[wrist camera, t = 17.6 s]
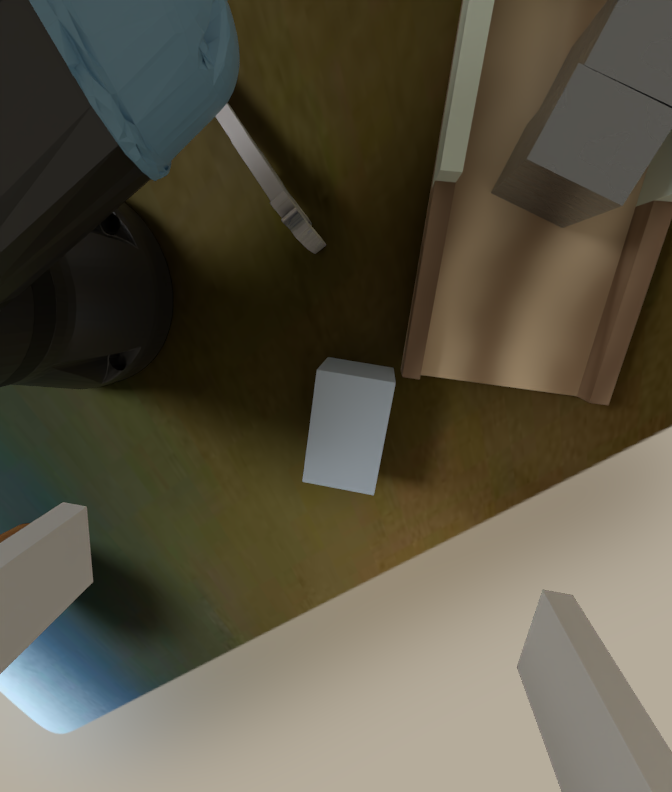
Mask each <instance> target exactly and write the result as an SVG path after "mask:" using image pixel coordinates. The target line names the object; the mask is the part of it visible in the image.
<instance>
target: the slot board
mask: <svg viewBox="0 0 672 792" xmlns="http://www.w3.org/2000/svg"><path fill="white" fill-rule="evenodd" d="M607 1H608V0H495V1H494V6H493V11H492V17H491V22H490V27H489V33H488V38H487V43H486V49H485V54H484V60H483V65H482V70H481V76H480V81H479V86H478V92H477V97H476V103H475V108H474V113H473V119H472V124H471V129H470V135H469V140H468V146H467V151H466V156H465V162H464V167H463V172H462V174H461V175H460V177H459V178H458V180H457V181H456V182H446V181H435V182H434V184H433V178H434V172H435V166H436V160H437V154H438V148H439V142H440V136H441V130H442V124H443V118H444V112H445V106H446V100H447V94H448V88H449V82H450V76H451V71H452V65H453V59H454V53H455V47H456V41H457V35H458V29H459V23H460V17H461V11H462V5H463V0H462V4H461V10H460V16H459V22H458V28H457V34H456V40H455V46H454V52H453V58H452V64H451V70H450V76H449V82H448V88H447V94H446V100H445V106H444V112H443V118H442V124H441V130H440V136H439V142H438V148H437V154H436V160H435V166H434V172H433V178H432V184H433V187H432V184H431V190H430V196H429V202H428V208H427V214H426V220H425V226H424V232H423V238H422V244H421V250H420V256H419V262H418V268H417V274H416V280H415V286H414V292H413V298H412V304H411V310H410V316H409V322H408V328H407V334H406V340H405V346H404V352H403V358H402V364H401V374H402V377H406V378H413V379H420V376H421V375H425V376H432V377H439V378H447V379H454V380H461V381H469V382H476V383H483V384H491V385H498V386H505V387H513V388H520V389H527V390H535V391H542V392H549V393H557V394H564V395H571V396H577V397H579V398H581V399H583V400H585V401H587V402H589V403H594V404H602V405H609V402H610V399H611V397H612V394H613V391H614V388H615V385H616V382H617V379H618V376H619V373H620V370H621V367H622V364H623V361H624V358H625V355H626V352H627V349H628V346H629V343H630V340H631V337H632V334H633V331H634V328H635V326H636V323H637V320H638V317H639V314H640V311H641V308H642V305H643V302H644V299H645V296H646V293H647V290H648V287H649V284H650V281H651V278H652V275H653V272H654V269H655V266H656V263H657V260H658V257H659V255H660V252H661V249H662V246H663V243H664V240H665V237H666V234H667V231H668V228H669V225H670V222H671V219H672V202H668V201H656V200H654V201H651V202H648V203H645V204H642V205H639V206H637V207H636V204H637V201H638V198H639V194H640V191H641V188H642V185H643V181H644V178H645V175H646V172H647V169H648V167H647V168H646V170H645V171H644V173H643V175H642V176H641V178H640V179H639V181H638V182H637V184H636V185H635V187H634V189H633V190H632V192H631V193H630V195H629V196H628V198H627V200H626V201H625V203H624V204H623V206H621V207H618V208H616V209H613V210H610V211H607V212H605V213H602V214H599V215H597V216H594V217H591V218H588V219H586V220H583V221H580V222H578V223H575V224H572V225H570V226H567V227H564V228H561V227H559V226H557V225H555V224H553V223H551V222H549V221H547V220H545V219H543V218H541V217H539V216H537V215H535V214H533V213H531V212H529V211H526V210H524V209H522V208H520V207H518V206H516V205H514V204H512V203H510V202H508V201H506V200H504V199H502V198H500V197H498V196H496V195H494V194H492V193H491V191H492V190H493V188H494V186H495V184H496V182H497V180H498V178H499V176H500V174H501V173H502V171H503V169H504V167H505V165H506V163H507V161H508V159H509V157H510V156H511V154H512V152H513V150H514V148H515V146H516V144H517V142H518V140H519V139H520V137H521V135H522V133H523V131H524V129H525V127H526V125H527V124H528V122H529V121H530V120H531V119H532V118H533V117H534V115H535V114H536V113H537V112H538V111H539V109H540V107H541V105H542V103H543V101H544V99H545V97H546V96H547V94H548V92H549V90H550V88H551V86H552V84H553V82H554V80H555V78H556V76H557V74H558V72H559V70H560V69H561V67H562V65H563V63H564V61H565V59H566V57H567V55H568V53H569V51H570V49H571V48H572V46H573V45H574V44H575V42H576V41H577V40H578V39H579V37H580V36H581V35H582V33H583V32H584V31H585V29H586V28H587V27H588V25H589V24H590V23H591V21H592V20H593V19H594V18H595V16H596V15H597V14H598V12H599V11H600V10H601V8H602V7H603V6H604V4H605V3H606V2H607Z"/></svg>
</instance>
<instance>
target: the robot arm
mask: <svg viewBox="0 0 672 792" xmlns="http://www.w3.org/2000/svg"><path fill="white" fill-rule="evenodd" d="M238 72H239V45H238V37H237V33H236V28H235V24H234V20H233V17H232V13H231V10H230V7H229V5H228V2H227V0H0V387H2V386H6V385H10V384H12V385H27V386H41V387H55V388H70V389H88V388H96V387H101V386H105V385H108V384H111V383H114V382H117V381H120V380H123V379H126V378H129V377H131V376H133V375H135V374H136V373H138V372H140V371H141V370H142V369H144V368H145V367H146V366H147V365H148V364H149V363H150V362H151V361H152V360H153V359H154V358H155V356H156V355H157V354H158V352H159V351H160V349H161V348H162V346H163V344H164V342H165V339H166V337H167V334H168V331H169V328H170V324H171V319H172V311H173V291H172V283H171V278H170V274H169V269H168V266H167V263H166V260H165V258H164V255H163V253H162V250H161V248H160V246H159V244H158V242H157V241H156V239H155V237H154V235H153V234H152V232H151V231H150V229H149V228H148V227H147V225H146V224H145V223H144V221H143V220H142V219H141V218H140V217H139V216H138V215H137V213H136V212H135V211H134V210H133V209H131V208H130V207H129V206H128V205H127V204H126V203H125V201H126V200H128V199H129V198H130V197H131V196H132V195H133V194H134V193H136V192H137V191H138V190H139V189H140V188H141V187H142V186H144V185H145V184H146V183H147V182H148V181H149V180H150V179H152V180H154V181H156V180H157V179H161V178H163V177H164V176H166V175H167V174H168V173H169V171H170V167H171V160H172V159H173V158H174V157H175V156H176V155H177V154H178V153H179V152H180V151H181V150H182V149H183V148H184V147H185V146H186V145H187V144H188V143H189V142H190V141H191V140H192V139H193V138H194V137H195V136H196V135H197V134H198V133H199V132H200V131H201V130H202V129H203V128H204V127H205V126H206V125H207V124H208V123H209V122H210V121H211V120H212V119H213V118H214V117H215V116H216V115H217V114H218V113H219V112H220V111H221V110H222V109H223V108H224V106H225V105H226V104H227V102H228V101H229V99H230V97H231V95H232V93H233V91H234V88H235V85H236V82H237V77H238ZM92 583H93V573H92V561H91V550H90V539H89V527H88V516H87V507H86V506H81V505H75V504H70V503H64V502H63V503H61V504H60V505H58V506H56V507H55V508H53V509H52V510H50V511H49V512H47V513H46V514H44V515H43V516H41V517H40V518H38V519H36V520H35V521H33V522H32V523H30V524H29V525H27V526H26V527H24V528H23V529H21V530H19V531H18V532H16V533H15V534H13V535H12V536H10V537H9V538H7V539H6V540H4V541H3V542H1V543H0V674H1V673H2V672H3V671H4V670H5V669H6V668H7V667H8V666H9V665H10V664H11V663H12V662H13V661H14V660H15V659H16V658H17V657H18V656H19V655H20V654H21V653H22V652H23V651H24V650H25V649H26V648H27V647H28V646H29V645H30V644H31V643H32V642H33V641H34V640H35V639H36V638H37V637H38V636H39V635H40V634H41V633H42V632H43V631H44V630H45V629H46V628H47V627H48V626H49V625H50V624H51V623H52V622H53V621H54V620H55V619H56V618H57V617H58V616H59V615H60V614H61V613H62V612H63V611H64V610H65V609H66V608H67V607H68V606H69V605H70V604H71V603H72V602H73V601H74V600H75V599H76V598H77V597H78V596H79V595H80V594H81V593H82V592H83V591H84V590H85V589H86V588H87V587H89V586H90V585H91V584H92ZM517 669H518V671H519V674H520V677H521V680H522V683H523V685H524V688H525V691H526V694H527V697H528V699H529V702H530V705H531V708H532V710H533V713H534V716H535V719H536V722H537V724H538V727H539V730H540V733H541V735H542V738H543V741H544V744H545V747H546V749H547V752H548V755H549V758H550V761H551V763H552V766H553V769H554V772H555V775H556V777H557V780H558V783H559V786H560V788H561V791H562V792H672V752H671V750H670V749H669V747H668V745H667V744H666V742H665V741H664V739H663V738H662V736H661V734H660V733H659V731H658V730H657V728H656V726H655V725H654V723H653V722H652V720H651V718H650V717H649V715H648V714H647V712H646V711H645V709H644V707H643V706H642V704H641V703H640V701H639V700H638V698H637V696H636V695H635V693H634V692H633V690H632V689H631V687H630V685H629V684H628V682H627V681H626V679H625V677H624V676H623V674H622V672H621V671H620V669H619V668H618V666H617V665H616V663H615V661H614V660H613V658H612V657H611V655H610V653H609V652H608V650H607V649H606V647H605V645H604V644H603V642H602V641H601V639H600V638H599V636H598V635H597V633H596V631H595V630H594V628H593V626H592V625H591V623H590V622H589V620H588V619H587V617H586V615H585V614H584V612H583V611H582V609H581V608H580V606H579V604H578V603H577V601H576V599H575V598H574V596H573V595H570V594H564V593H558V592H553V591H547V590H542V593H541V596H540V599H539V602H538V606H537V608H536V611H535V614H534V617H533V620H532V623H531V626H530V629H529V632H528V635H527V638H526V641H525V644H524V647H523V650H522V653H521V656H520V659H519V663H518V665H517Z"/></svg>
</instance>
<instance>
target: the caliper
mask: <svg viewBox="0 0 672 792" xmlns="http://www.w3.org/2000/svg"><path fill="white" fill-rule="evenodd" d="M215 117H216V118H217V120H218V121H219V123H220V124H221V126H222V127H223V129H224V130H225V132H226V133H227V135H228V136H229V138H230V139H231V142H232V143H233V145H234V146H235V148H236V149H237V151H238V152H239V154H240V155H241V157H242V158H243V160H244V161H245V163H246V164H247V166H248V167H249V169H250V170H251V172H252V173H253V175H254V176H255V178H256V179H257V181H258V182H259V184H260V185H261V187H262V188H263V190H264V191H265V193H266V194H267V196H268V197H269V199H270V200H271V202H270V204H271V205H272V207H273V208H274V209H275V210H276V211H277V213H278V214H279V215H280V216H281V217H282V219H281V221H282V222H283V223H284V224H285V225H286V226H287V227H288V228H289V229H290V230H291V232H292V233H293V235H294V236H295V237H296V239H297V240H299V241H300V242H301V243H302V244H303V245H304V246H305V247H306V248H307V249H308V250H309V251H311V252H313V253H314V254H316V253H317V252H319V251H320V250H321V249H322V248H324V247H325V246H326V243H325V242H324V240H323V239H322V238H321V237H320V235H319V234H318V233H317V232H316V231H315V230H314V228H313V227H312V226H311V225H312V223H311V221H310V220H309V218H308V217H307V216H306V214H305V213H304V212H303V210H302V209H301V208H300V206H299V205H298V204H297V203H296V201H295V200H294V199H293V197H292V196H291V195H290V194H289V192H288V191H287V189H286V188H285V186H284V185H283V183H282V181H281V180H280V178H279V177H278V175H277V174H276V172H275V171H274V169H273V168H272V166H271V165H270V163H269V162H268V160H267V159H266V157H265V156H264V154H263V153H262V152H261V150H260V149H259V148H258V147H257V145H256V144H255V142H254V141H253V139H252V138H251V136H250V135H249V133H248V132H247V130H246V129H245V127H244V126H243V124H242V123H241V121H240V120H239V118H238V117H237V115H236V114H235V112H234V111H233V109H232V108H231V106H230V105H229V103H228V102H227V104H226V105H225V106H224V108H223V109H222V110H221V111H220V112H219V113H218V114H217V115H216V116H215Z"/></svg>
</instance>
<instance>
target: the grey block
mask: <svg viewBox="0 0 672 792" xmlns="http://www.w3.org/2000/svg"><path fill="white" fill-rule="evenodd" d="M395 384H396V381H395V375H394V368H392V367H386V366H380V365H374V364H368V363H362V362H355V361H349V360H343V359H337V358H331V357H327V359H326V360H325V361H324V362H323V363H322V364H321V365H320V367H319V368H318V369H317V372H316V380H315V388H314V396H313V403H312V411H311V419H310V426H309V434H308V442H307V449H306V457H305V465H304V473H303V480H302V482H307V483H312V484H317V485H322V486H327V487H333V488H338V489H343V490H348V491H354V492H359V493H364V494H369V495H374V492H375V487H376V482H377V477H378V472H379V466H380V461H381V456H382V451H383V446H384V441H385V436H386V430H387V425H388V420H389V415H390V410H391V405H392V400H393V394H394V389H395Z"/></svg>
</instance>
